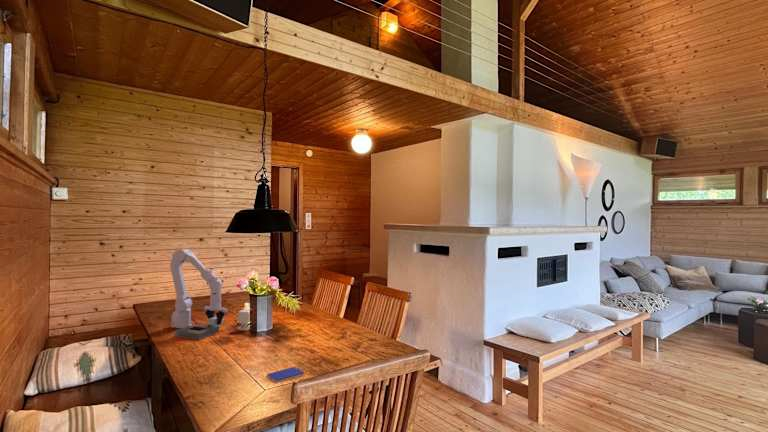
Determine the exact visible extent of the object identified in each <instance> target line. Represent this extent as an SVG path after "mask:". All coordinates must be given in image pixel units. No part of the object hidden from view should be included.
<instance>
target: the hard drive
mask: <svg viewBox="0 0 768 432" xmlns="http://www.w3.org/2000/svg"><path fill="white" fill-rule="evenodd" d="M304 375H305V372H304V371H303V370H301V369H299V368H298V367H296V366H291V367H289V368H284V369H280V370H278V371H274V372H270V373H266V377H268V378H269V379H270V380H272V381H273V382H274V383H280V382H284V381H287V380H290V379H293V378H299V377H302V376H304Z"/></svg>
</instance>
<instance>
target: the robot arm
mask: <svg viewBox="0 0 768 432" xmlns="http://www.w3.org/2000/svg"><path fill="white" fill-rule="evenodd" d="M185 263H189V264H191V265H192V266H193V267H194V268H195V269H196V270H197V271H199V273H200V277H201V278H202V279H203V281H205V282H206V283H207V285H208V288H209V289H210V294H209V295H210V300H209V301H210V302H209V304H210V305H208V306H207V305H206V306H203V310H204V311H205V314H206V316H207V319H210V318H213V317H216V316H217V325H220V324H221V322H222V323H223V321H222V319H224V316H225V314H226V313H227V312H228V308H226V307H222V286H223V285H224V284H223V280H222V279H221V278H220V277H218V276H216V275H215V274H214V273H213V270H212V269H210V268H206V267H205V266H204V265H203V264H202V263H201V261H200V260H199V259H198V257H197V256H196V255H195V254H194V252H193V251H191V249H189V248H182V249H177V250H175V251H174V253H173V254H172V257H171V261H170V263H169V266H170V272H171V277H172V281H173V284H174V289H175V293H176V296H175V305H174V308H175V310H174V311H173V313H172V315H171V325H170V328H175V329H176V328H177V329H181V328H184V327H187V326H190V325H193V324H194V323H193V324H192V323H191V322H192V321H191V319H192V317H191V316H192V315H191V314H192V313H191V312H192V310H191V307H192V306H193V304H194V303H193V302H194V301H193V299H191V296H190V294H189V293H188V291H187V287H186V283H185V278H184V272H183V269H182V266H183V265H184V264H185ZM215 315H216V316H215Z"/></svg>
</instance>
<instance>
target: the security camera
mask: <svg viewBox="0 0 768 432" xmlns="http://www.w3.org/2000/svg"><path fill="white" fill-rule="evenodd" d="M250 310H251V309H247V308H246V309H245V308H243V309H242V310H239V311H238V312H237V320H236V321H237V323H239V324H240V326H238V327H237V328H236V329H237V331H248V330H250V329H251V328H250V326H251V325H249V323H250V322H251V321H250Z"/></svg>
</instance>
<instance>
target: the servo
mask: <svg viewBox="0 0 768 432" xmlns="http://www.w3.org/2000/svg"><path fill="white" fill-rule="evenodd" d="M207 319H208V318H207ZM225 320H226V319H224V318H223V319H222V322H221V324H220V325H217V316H214V317H213V318H210V319H208V320H207V322H205V324H204V325H209V326H216V327H219V328H220V327H222V326H223V322H224V321H225Z"/></svg>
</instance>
